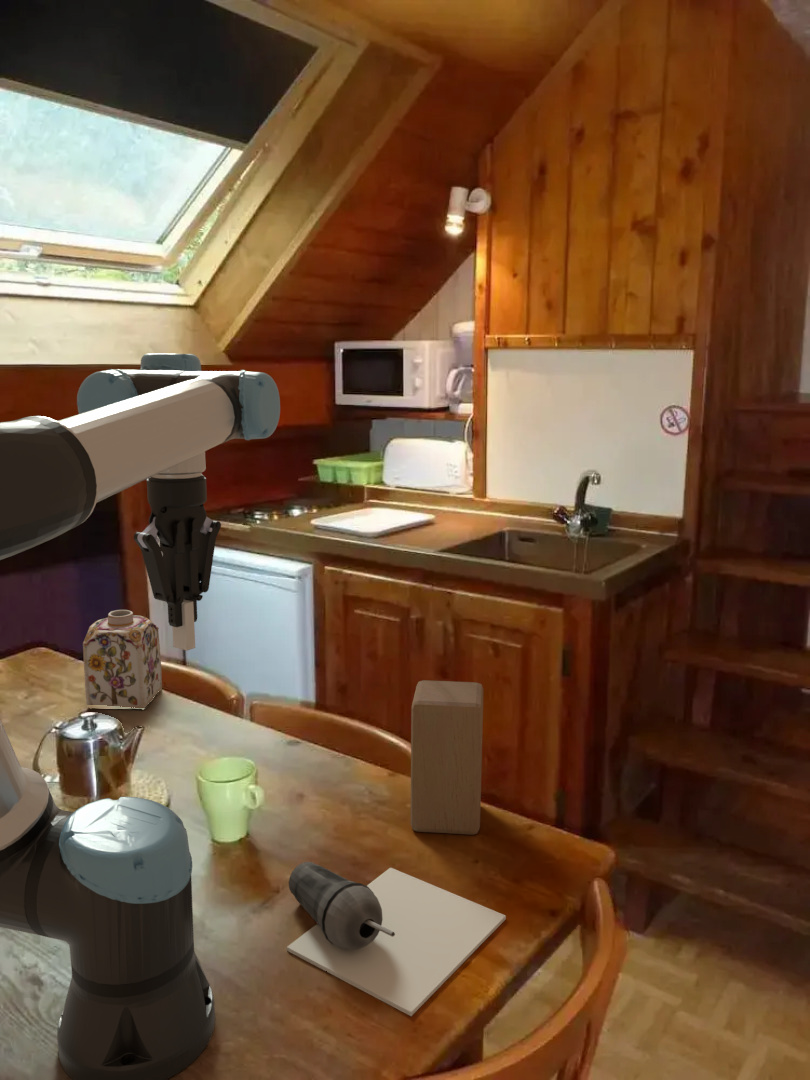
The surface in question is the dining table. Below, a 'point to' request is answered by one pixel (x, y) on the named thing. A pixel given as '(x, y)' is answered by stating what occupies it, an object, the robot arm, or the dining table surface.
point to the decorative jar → (122, 661)
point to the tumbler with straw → (338, 906)
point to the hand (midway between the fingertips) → (184, 647)
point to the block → (446, 757)
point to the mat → (406, 942)
